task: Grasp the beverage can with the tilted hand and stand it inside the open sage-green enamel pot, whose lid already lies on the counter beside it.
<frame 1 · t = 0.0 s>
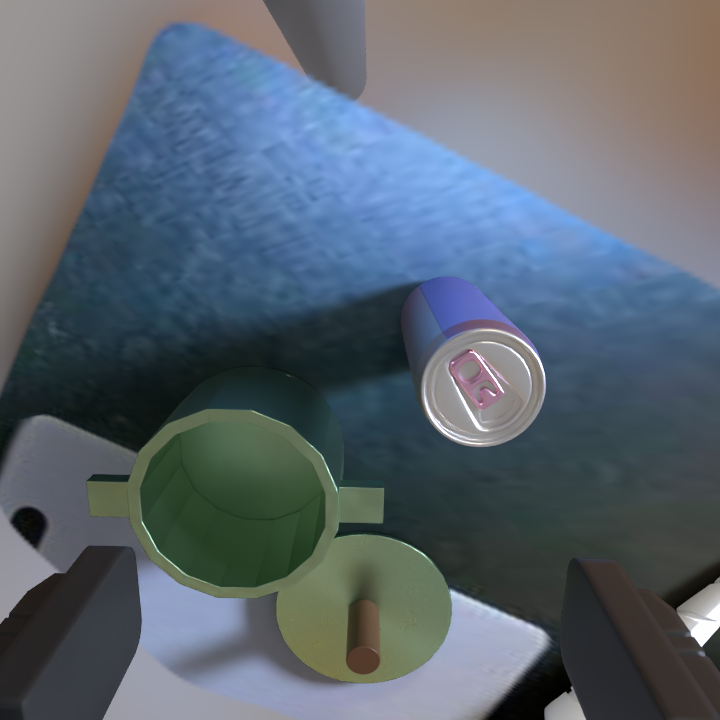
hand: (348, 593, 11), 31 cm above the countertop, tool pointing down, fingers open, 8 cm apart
pot: (257, 448, 44), on the countertop
beverage can: (443, 317, 42), on the countertop
unicorn horn: (651, 629, 49), on the countertop
pot lid: (363, 607, 47), point 1 cm above the countertop
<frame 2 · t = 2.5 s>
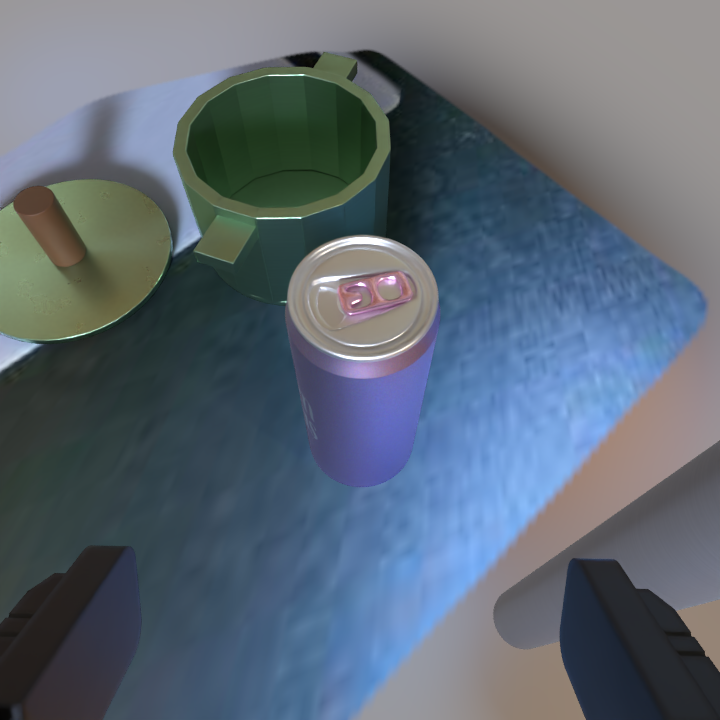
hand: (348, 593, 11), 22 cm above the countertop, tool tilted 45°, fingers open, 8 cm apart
pot: (295, 232, 43), on the countertop
beverage can: (361, 442, 36), on the countertop
pot lid: (71, 257, 41), point 1 cm above the countertop
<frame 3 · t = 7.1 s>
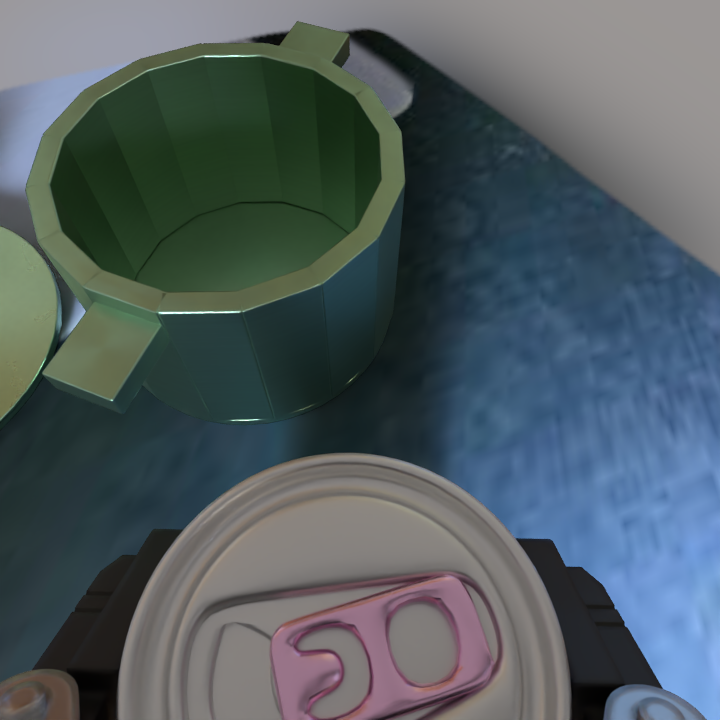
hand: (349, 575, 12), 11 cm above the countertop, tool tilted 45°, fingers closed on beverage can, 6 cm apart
pot: (255, 299, 28), on the countertop
beverage can: (352, 684, 21), on the countertop, touching gripper
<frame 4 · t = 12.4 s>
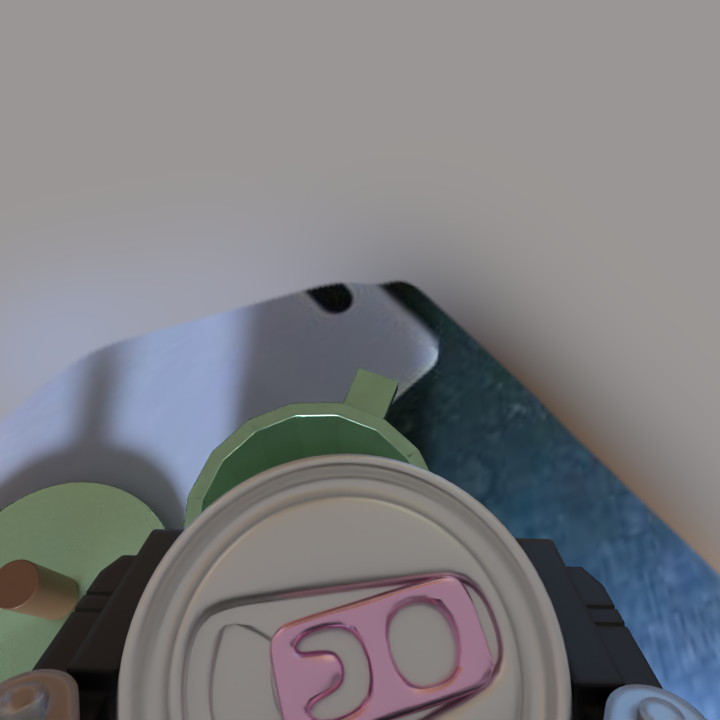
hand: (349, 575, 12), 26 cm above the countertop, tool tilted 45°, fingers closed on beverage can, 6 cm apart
pot: (322, 554, 37), on the countertop
beverage can: (352, 685, 21), point 15 cm above the countertop, touching gripper
pot lid: (60, 598, 35), point 1 cm above the countertop
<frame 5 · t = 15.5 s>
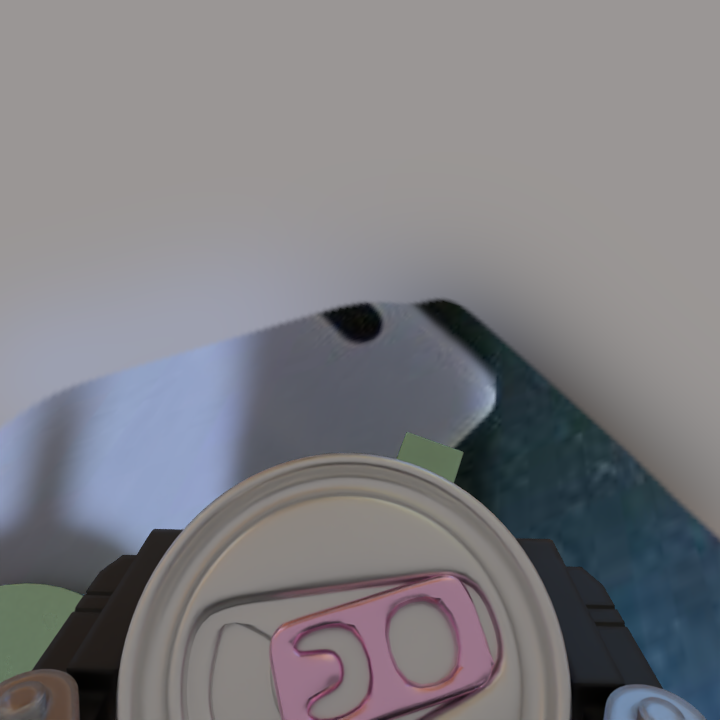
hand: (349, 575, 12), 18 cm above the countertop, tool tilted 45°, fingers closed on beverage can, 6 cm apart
pot: (353, 682, 27), on the countertop
beverage can: (352, 684, 21), point 7 cm above the countertop, touching gripper
when the fingers open (12 cm above the countertop, at t = 17.9 s): beverage can stays where it is, resting on pot.
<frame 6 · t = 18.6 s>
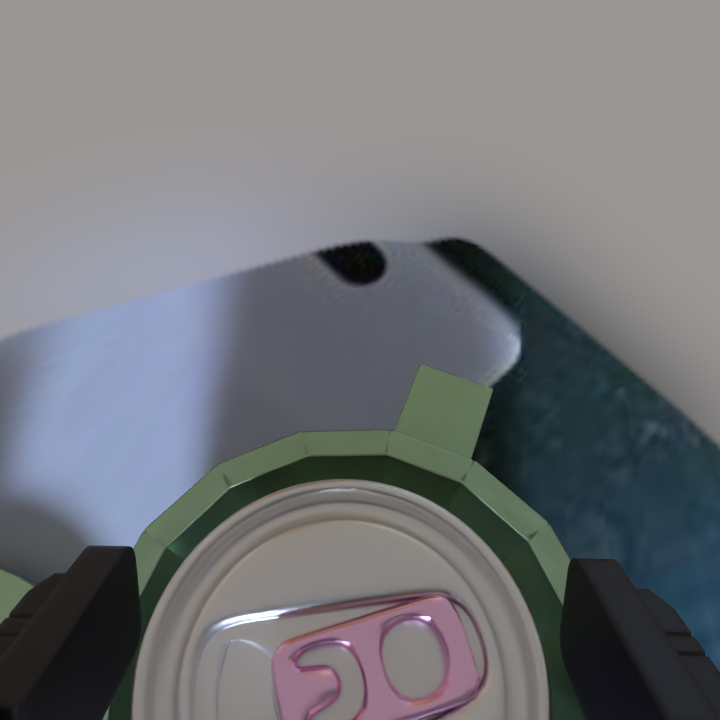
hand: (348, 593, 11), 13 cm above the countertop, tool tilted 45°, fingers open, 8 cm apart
pot: (351, 684, 22), on the countertop
beverage can: (350, 689, 21), resting on pot
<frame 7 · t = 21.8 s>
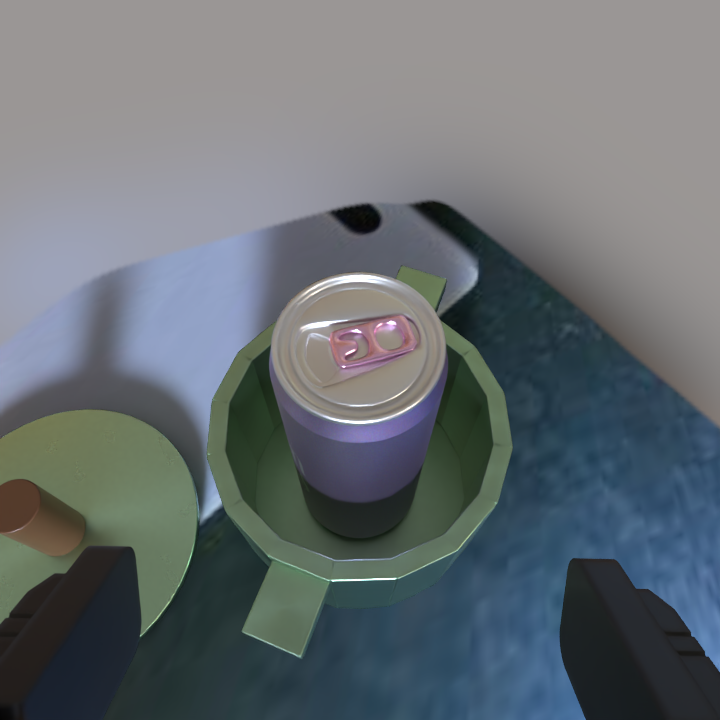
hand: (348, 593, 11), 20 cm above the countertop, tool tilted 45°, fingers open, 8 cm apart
pot: (359, 484, 33), on the countertop
beverage can: (359, 485, 33), resting on pot
pot lid: (65, 534, 31), point 1 cm above the countertop
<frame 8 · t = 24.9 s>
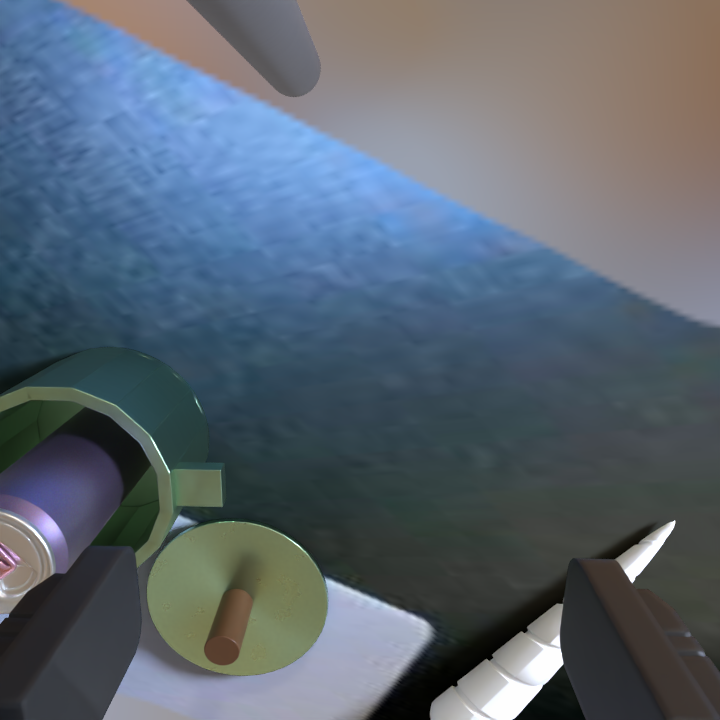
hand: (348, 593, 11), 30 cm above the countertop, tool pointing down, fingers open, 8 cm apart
pot: (120, 432, 43), on the countertop
beverage can: (120, 434, 43), resting on pot
unicorn horn: (539, 621, 47), on the countertop
pot lid: (238, 597, 46), point 1 cm above the countertop
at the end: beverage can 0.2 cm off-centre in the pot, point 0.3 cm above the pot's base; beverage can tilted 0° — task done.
